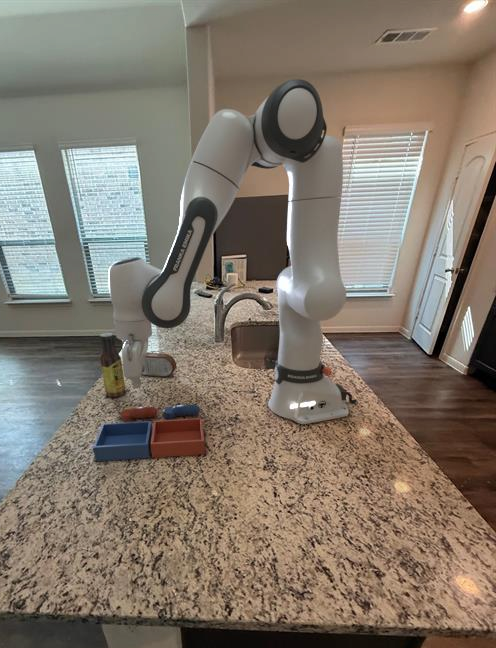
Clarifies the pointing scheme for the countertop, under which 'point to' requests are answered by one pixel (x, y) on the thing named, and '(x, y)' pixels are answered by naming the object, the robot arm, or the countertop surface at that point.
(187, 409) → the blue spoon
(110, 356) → the sauce bottle
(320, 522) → the countertop surface
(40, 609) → the countertop surface
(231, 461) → the countertop surface
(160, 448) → the red bin
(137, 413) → the red lumpy bar
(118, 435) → the blue bin
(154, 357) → the tin
